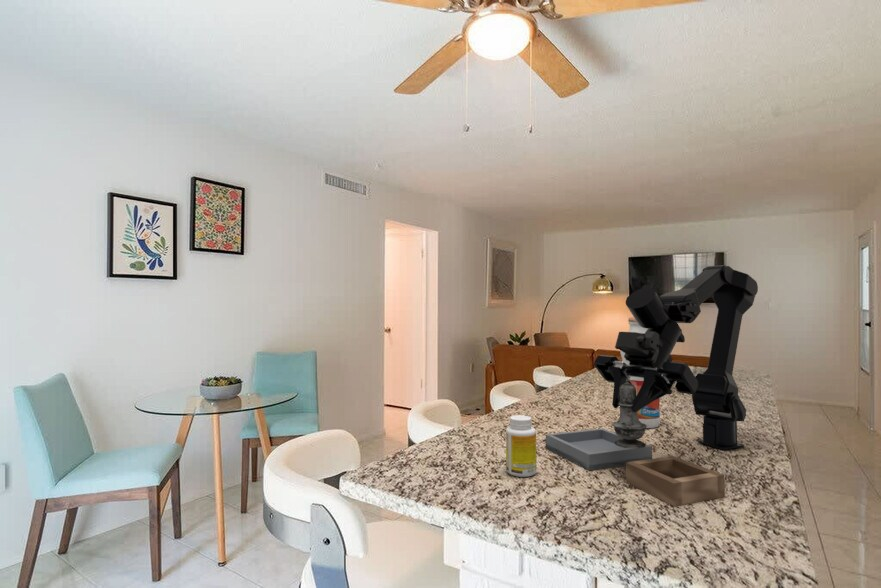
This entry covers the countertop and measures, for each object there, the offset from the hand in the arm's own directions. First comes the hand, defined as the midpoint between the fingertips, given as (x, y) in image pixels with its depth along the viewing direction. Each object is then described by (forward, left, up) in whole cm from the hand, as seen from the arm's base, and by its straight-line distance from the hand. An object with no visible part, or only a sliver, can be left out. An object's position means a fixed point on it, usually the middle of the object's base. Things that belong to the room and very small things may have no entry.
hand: (623, 408), depth 86 cm
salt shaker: (-1, 0, -7) cm, 7 cm away
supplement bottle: (+17, -8, -12) cm, 22 cm away
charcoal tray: (-3, -12, -12) cm, 18 cm away
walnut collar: (-3, +8, -12) cm, 15 cm away
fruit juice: (-30, -29, -12) cm, 44 cm away
